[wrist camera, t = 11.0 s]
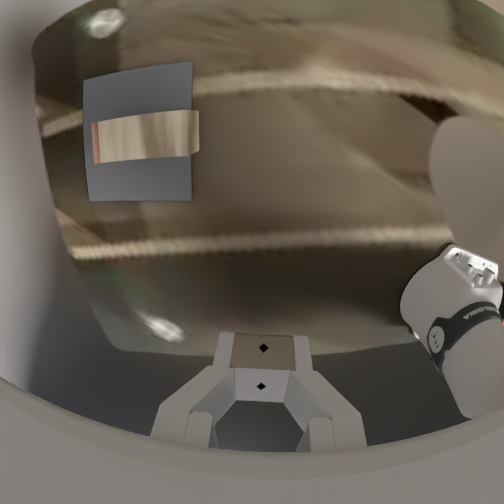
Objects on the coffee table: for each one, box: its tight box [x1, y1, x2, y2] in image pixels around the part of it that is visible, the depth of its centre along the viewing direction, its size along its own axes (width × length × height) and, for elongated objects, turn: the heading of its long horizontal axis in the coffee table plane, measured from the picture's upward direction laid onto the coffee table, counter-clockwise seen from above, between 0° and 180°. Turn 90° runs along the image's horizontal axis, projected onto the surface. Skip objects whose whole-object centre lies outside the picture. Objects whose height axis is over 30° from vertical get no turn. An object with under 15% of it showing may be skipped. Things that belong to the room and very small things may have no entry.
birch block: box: [91, 110, 199, 164], centre depth 29 cm, size 5×5×12 cm
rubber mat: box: [83, 61, 193, 201], centre depth 31 cm, size 16×18×1 cm
